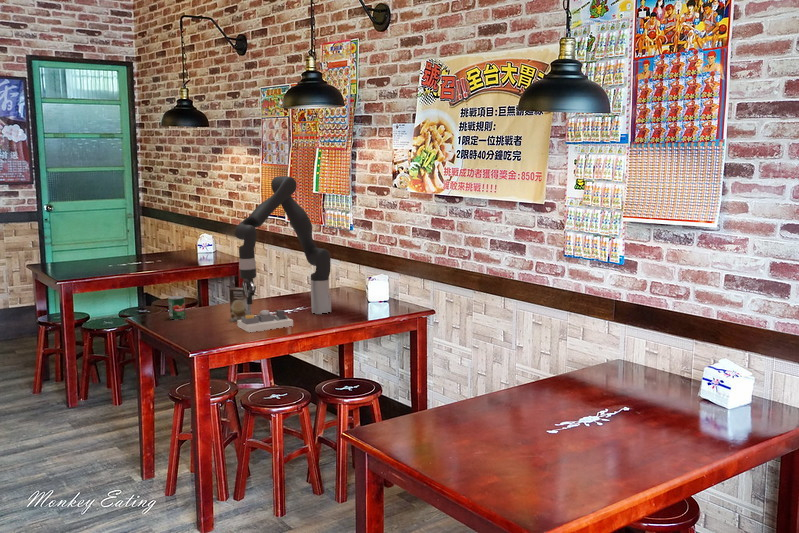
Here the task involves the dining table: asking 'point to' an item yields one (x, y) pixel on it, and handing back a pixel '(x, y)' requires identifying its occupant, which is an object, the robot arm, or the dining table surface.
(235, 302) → the coffee box
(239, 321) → the control panel
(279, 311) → the dark grey cube
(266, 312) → the grey switch
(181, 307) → the canned tomato
